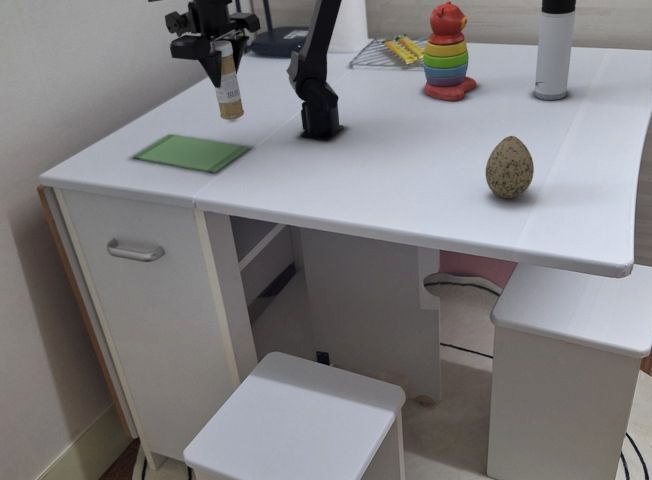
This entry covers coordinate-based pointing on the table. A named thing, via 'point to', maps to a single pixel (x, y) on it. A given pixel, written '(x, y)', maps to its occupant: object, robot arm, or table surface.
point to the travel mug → (554, 48)
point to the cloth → (191, 153)
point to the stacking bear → (447, 55)
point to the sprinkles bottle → (228, 84)
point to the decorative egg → (509, 168)
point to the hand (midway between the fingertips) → (225, 83)
